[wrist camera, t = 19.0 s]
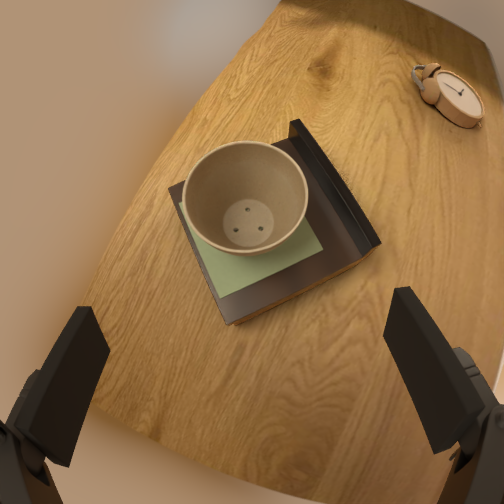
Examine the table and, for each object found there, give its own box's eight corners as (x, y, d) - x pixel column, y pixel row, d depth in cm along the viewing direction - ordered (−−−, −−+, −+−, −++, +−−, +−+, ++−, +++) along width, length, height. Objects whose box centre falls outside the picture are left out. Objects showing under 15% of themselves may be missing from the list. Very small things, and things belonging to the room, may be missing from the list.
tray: (230, 327, 32) (222, 322, 25) (176, 203, 36) (159, 174, 30) (360, 262, 34) (382, 243, 27) (294, 153, 38) (299, 118, 31)
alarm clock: (487, 131, 36) (418, 76, 36) (470, 144, 41) (403, 94, 40) (484, 93, 39) (421, 46, 39) (470, 106, 44) (409, 62, 43)
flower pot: (179, 224, 31) (158, 192, 24) (250, 165, 33) (247, 122, 26) (246, 296, 29) (241, 280, 22) (319, 226, 31) (334, 193, 24)
